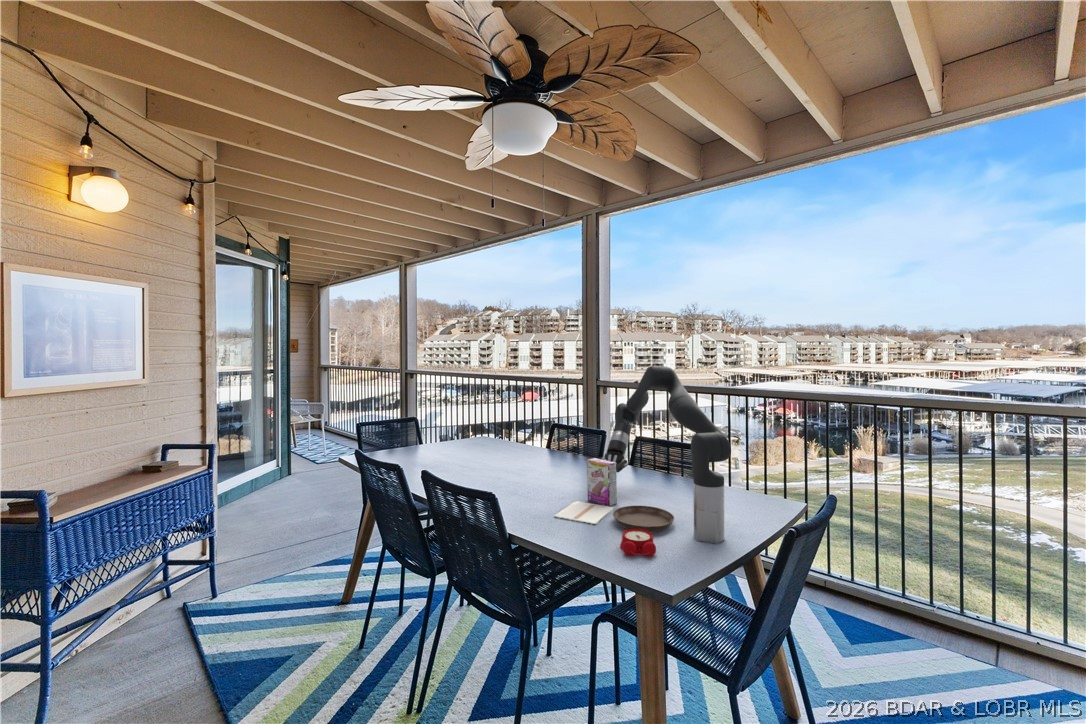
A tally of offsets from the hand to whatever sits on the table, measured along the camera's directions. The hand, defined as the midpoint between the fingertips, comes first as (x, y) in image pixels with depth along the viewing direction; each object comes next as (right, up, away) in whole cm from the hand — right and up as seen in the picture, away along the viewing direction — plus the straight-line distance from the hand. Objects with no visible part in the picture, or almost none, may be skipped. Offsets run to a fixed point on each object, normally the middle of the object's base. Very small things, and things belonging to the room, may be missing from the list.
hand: (607, 479), depth 189 cm
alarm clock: (+2, -9, -49) cm, 49 cm away
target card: (-11, -8, -17) cm, 22 cm away
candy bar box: (-3, -8, -5) cm, 10 cm away
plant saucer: (+8, -9, -28) cm, 30 cm away
